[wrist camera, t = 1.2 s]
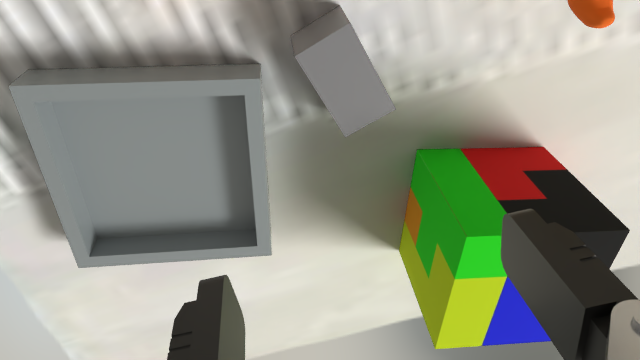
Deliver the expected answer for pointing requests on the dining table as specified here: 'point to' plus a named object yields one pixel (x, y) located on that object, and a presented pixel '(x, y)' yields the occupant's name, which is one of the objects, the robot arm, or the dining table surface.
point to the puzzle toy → (488, 237)
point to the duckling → (593, 12)
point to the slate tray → (152, 160)
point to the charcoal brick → (341, 72)
